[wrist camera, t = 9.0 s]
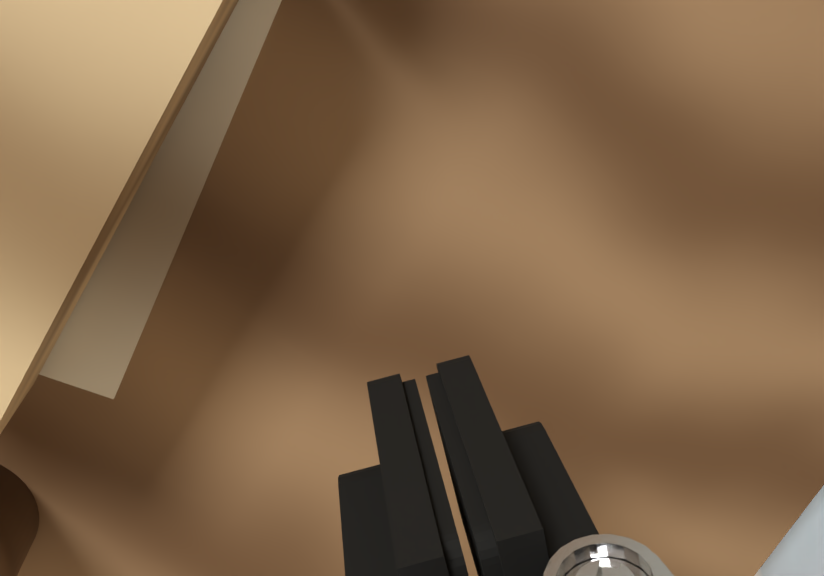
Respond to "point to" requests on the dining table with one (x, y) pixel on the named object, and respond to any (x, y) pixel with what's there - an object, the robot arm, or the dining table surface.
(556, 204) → the board
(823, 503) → the dining table surface
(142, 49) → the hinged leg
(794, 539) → the dining table surface
